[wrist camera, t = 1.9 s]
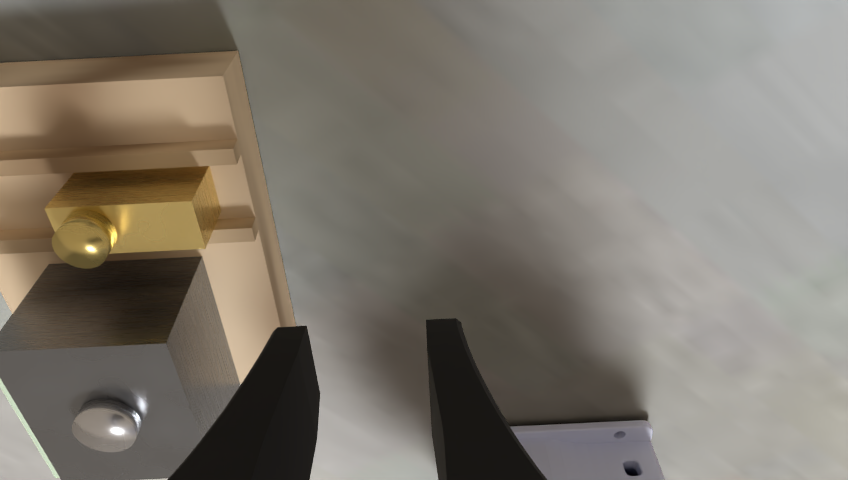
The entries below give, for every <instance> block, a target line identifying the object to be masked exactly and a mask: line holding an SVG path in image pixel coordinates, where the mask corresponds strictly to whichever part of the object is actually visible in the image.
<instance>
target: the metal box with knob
mask: <svg viewBox="0 0 848 480" xmlns="http://www.w3.org/2000/svg"><path fill="white" fill-rule="evenodd" d="M0 379H1V380H2V382H3V384H4V385H5V387H6V389H7V390H8V392H9V394H10V395H11V397H12V399H13V400H14V402H15V404H16V405H17V407H18V409H19V410H20V412H21V414H22V415H23V417H24V419H25V420H26V422H27V424H28V425H29V427H30V429H31V430H32V432H33V434H34V435H35V437H36V439H37V440H38V442H39V444H40V445H41V447H42V449H43V450H44V452H45V454H46V455H47V457H48V459H49V460H50V462H51V464H52V465H53V467H54V469H55V470H56V472H57V474H58V475H59V477H60V479H61V480H140V479H161V478H169V477H170V476H171V475H172V474H173V473H174V472H175V471H176V469H177V468H178V467H179V466H180V465H181V464H182V463H183V461H184V460H185V459H186V458H187V457H188V455H189V454H190V453H191V452H192V451H193V449H194V448H195V447H196V446H197V444H198V443H199V442H200V441H201V439H202V438H203V437H204V435H205V434H206V433H207V431H208V430H209V429H210V427H211V426H212V425H213V423H214V422H215V421H216V420H217V418H218V417H219V416H220V414H221V413H222V411H223V410H224V409H225V407H226V406H227V404H228V403H229V401H230V400H231V398H232V397H233V396H234V394H235V393H236V391H237V390H238V388H239V386H240V382H239V378H238V375H237V372H236V368H235V365H234V361H233V358H232V355H231V351H230V348H229V345H228V341H227V338H226V335H225V331H224V328H223V324H222V321H221V318H220V314H219V311H218V308H217V304H216V301H215V298H214V294H213V291H212V287H211V284H210V281H209V277H208V274H207V271H206V267H205V264H204V261H203V257H202V256H200V257H180V258H160V259H140V260H120V261H104V262H103V263H102V264H101V265H99V266H98V267H95V268H89V269H84V268H78V267H74V266H72V265H70V264H68V263H60V264H48V266H47V267H46V268H45V270H44V271H43V273H42V274H41V275H40V277H39V278H38V280H37V281H36V282H35V284H34V285H33V286H32V288H31V289H30V291H29V292H28V293H27V295H26V296H25V297H24V299H23V300H22V302H21V303H20V304H19V306H18V307H17V309H16V310H15V311H14V313H13V314H12V315H11V317H10V318H9V320H8V321H7V322H6V324H5V325H4V326H3V328H2V329H1V331H0Z"/></svg>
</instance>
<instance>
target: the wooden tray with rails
mask: <svg viewBox="0 0 848 480" xmlns="http://www.w3.org/2000/svg"><path fill="white" fill-rule="evenodd" d="M197 166H210V169H211V173H212V177H213V181H214V185H215V188H216V192H217V196H218V200H219V204H220V207H221V213H220V215H219V218H218V220H217V223H216V225H215V227H214V230H213V232H212V235H211V237H210V239H209V242H208V244H207V247H206V249H193V250H173V251H153V252H133V253H113V254H108V256H107V258H106V259H105V261H120V260H140V259H160V258H180V257H200V256H202V257H203V261H204V264H205V267H206V271H207V274H208V277H209V281H210V284H211V287H212V291H213V294H214V298H215V301H216V304H217V308H218V311H219V314H220V318H221V321H222V324H223V328H224V331H225V335H226V338H227V341H228V345H229V348H230V351H231V355H232V358H233V361H234V365H235V368H236V372H237V375H238V378H239V382H240V384H241V383H242V382H243V381H244V379H245V378H246V376H247V375H248V373H249V371H250V370H251V368H252V367H253V365H254V363H255V362H256V360H257V358H258V357H259V355H260V353H261V352H262V350H263V348H264V347H265V345H266V343H267V341H268V340H269V338H270V336H271V334H272V333H273V331H274V330H275V329H276V328H277V327H294V326H296V323H295V319H294V314H293V309H292V304H291V300H290V295H289V290H288V285H287V281H286V276H285V271H284V266H283V262H282V257H281V252H280V247H279V243H278V238H277V233H276V228H275V223H274V219H273V214H272V209H271V204H270V200H269V195H268V190H267V185H266V181H265V176H264V171H263V166H262V162H261V157H260V152H259V147H258V143H257V138H256V133H255V128H254V124H253V119H252V114H251V109H250V105H249V100H248V95H247V90H246V86H245V81H244V76H243V71H242V67H241V62H240V57H239V52H238V51H223V52H204V53H184V54H164V55H145V56H125V57H106V58H86V59H66V60H47V61H27V62H8V63H0V292H1V293H2V295H3V297H4V299H5V301H6V303H7V304H8V306H9V308H10V310H11V312H12V314H13V313H14V311H15V310H16V309H17V307H18V306H19V304H20V303H21V302H22V300H23V299H24V297H25V296H26V295H27V293H28V292H29V291H30V289H31V288H32V286H33V285H34V284H35V282H36V281H37V280H38V278H39V277H40V275H41V274H42V273H43V271H44V270H45V268H46V267H47V266H48V264H60V263H66V262H64V261H63V260H62V259H61V258H59V257H58V255H57V254H56V253H55V251H54V249H53V247H52V237H53V235H54V233H55V231H54V229H53V227H52V225H51V222H50V220H49V218H48V216H47V213H46V211H45V209H44V208H45V207H46V206H47V205H48V204H49V202H50V201H51V200H52V199H53V197H54V196H55V195H56V194H57V193H58V191H59V190H60V189H61V188H62V187H63V185H64V184H65V183H66V182H67V181H68V179H69V178H70V177H71V176H72V174H73V173H79V172H98V171H118V170H138V169H158V168H177V167H197Z"/></svg>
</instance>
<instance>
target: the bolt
mask: <svg viewBox="0 0 848 480" xmlns="http://www.w3.org/2000/svg"><path fill="white" fill-rule="evenodd" d="M44 209H45V211H46V213H47V216H48V218H49V220H50V222H51V225H52V227H53V229H54V231H55V233H54V235H53V237H52V247H53V249H54V251H55V253H56V254H57V255H58V257H59V258H61V259H62V260H63V261H64V262H66V263H68V264H70V265H72V266H74V267H78V268H84V269H89V268H95V267H98V266H99V265H101V264H102V263H103V262H104V261H105V259H106V258H107V256H108V254H113V253H133V252H153V251H173V250H193V249H206V247H207V244H208V242H209V239H210V237H211V235H212V232H213V230H214V227H215V225H216V223H217V220H218V218H219V215H220V213H221V207H220V204H219V200H218V196H217V192H216V188H215V185H214V181H213V177H212V173H211V169H210V166H197V167H177V168H158V169H138V170H118V171H98V172H79V173H73V174H72V176H71V177H70V178H69V179H68V181H67V182H66V183H65V184H64V185H63V187H62V188H61V189H60V190H59V191H58V193H57V194H56V195H55V196H54V197H53V199H52V200H51V201H50V202H49V204H48V205H47V206H46V207H45V208H44Z"/></svg>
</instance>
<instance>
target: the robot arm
mask: <svg viewBox="0 0 848 480" xmlns="http://www.w3.org/2000/svg"><path fill="white" fill-rule="evenodd" d="M426 328H427V351H428V369H429V388H430V406H431V424H432V437H433V444H434V451H435V458H436V465H437V472H438V479H439V480H665V478H664V476H663V473H662V470H661V467H660V465H659V462H658V459H657V457H656V454H655V451H654V449H653V446H652V443H651V438H652V434H653V429H652V426H651V424H650V423H649V422H648V421H645V420H634V421H614V422H593V423H573V424H553V425H533V426H512V427H510V426H509V424H508V423H507V421H506V420H505V418H504V416H503V415H502V413H501V411H500V410H499V408H498V406H497V405H496V403H495V401H494V399H493V397H492V395H491V394H490V392H489V390H488V388H487V386H486V384H485V382H484V380H483V378H482V376H481V374H480V372H479V370H478V368H477V366H476V364H475V361H474V359H473V357H472V355H471V352H470V350H469V347H468V345H467V342H466V339H465V336H464V333H463V329H462V325H461V322H460V321H458V320H457V319H456V318H454V319H434V320H426ZM319 402H320V391H319V386H318V381H317V376H316V370H315V365H314V360H313V355H312V350H311V345H310V340H309V335H308V330H307V326H294V327H277V328H276V329H275V330H274V331H273V333H272V334H271V336H270V338H269V340H268V341H267V343H266V345H265V347H264V348H263V350H262V352H261V353H260V355H259V357H258V358H257V360H256V362H255V363H254V365H253V367H252V368H251V370H250V371H249V373H248V375H247V376H246V378H245V379H244V381H243V382H242V384H241V385H240V387H239V388H238V390H237V391H236V393H235V394H234V396H233V397H232V398H231V400H230V401H229V403H228V404H227V406H226V407H225V409H224V410H223V411H222V413H221V414H220V416H219V417H218V418H217V420H216V421H215V422H214V423H213V425H212V426H211V427H210V429H209V430H208V431H207V433H206V434H205V435H204V437H203V438H202V439H201V441H200V442H199V443H198V444H197V446H196V447H195V448H194V449H193V451H192V452H191V453H190V454H189V455H188V457H187V458H186V459H185V460H184V461H183V463H182V464H181V465H180V466H179V467H178V468H177V469H176V471H175V472H174V473H173V474H172V475H171V476H170V477H169V478H168V480H309V479H310V474H311V468H312V463H313V457H314V452H315V447H316V441H317V431H318V417H319Z"/></svg>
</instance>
